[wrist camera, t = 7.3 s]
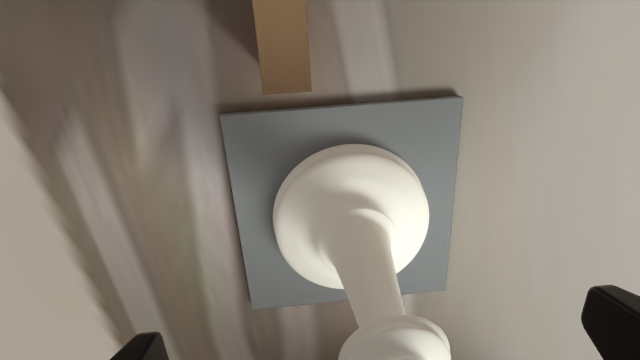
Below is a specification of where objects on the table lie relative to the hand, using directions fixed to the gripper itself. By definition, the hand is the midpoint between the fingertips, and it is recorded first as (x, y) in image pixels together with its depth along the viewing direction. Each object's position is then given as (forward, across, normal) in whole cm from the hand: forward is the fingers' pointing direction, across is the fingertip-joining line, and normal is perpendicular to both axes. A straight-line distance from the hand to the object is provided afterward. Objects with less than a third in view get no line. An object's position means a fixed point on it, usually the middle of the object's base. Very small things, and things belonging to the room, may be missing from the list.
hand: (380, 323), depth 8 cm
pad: (+5, 0, 0) cm, 5 cm away
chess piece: (+5, 0, 0) cm, 5 cm away
